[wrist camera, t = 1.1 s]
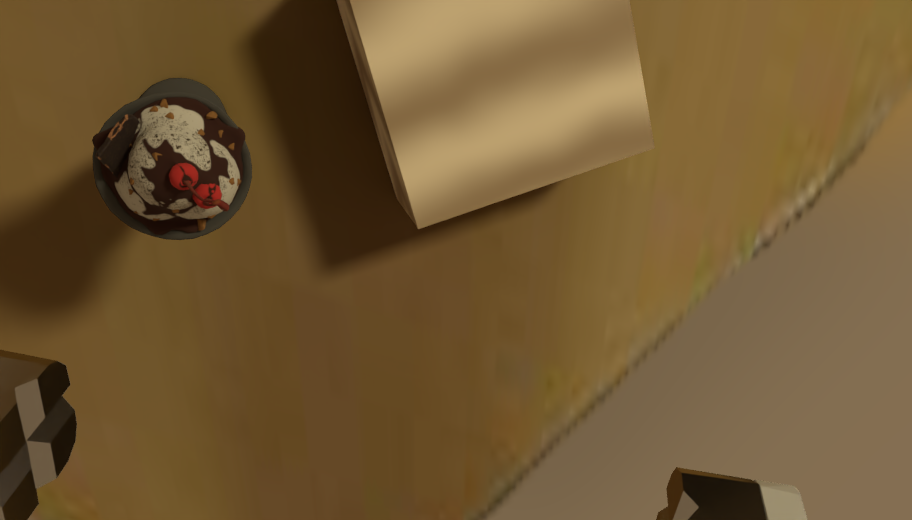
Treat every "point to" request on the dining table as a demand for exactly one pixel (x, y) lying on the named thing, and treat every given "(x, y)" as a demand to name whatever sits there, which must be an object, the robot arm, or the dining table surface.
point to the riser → (496, 95)
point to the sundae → (172, 162)
